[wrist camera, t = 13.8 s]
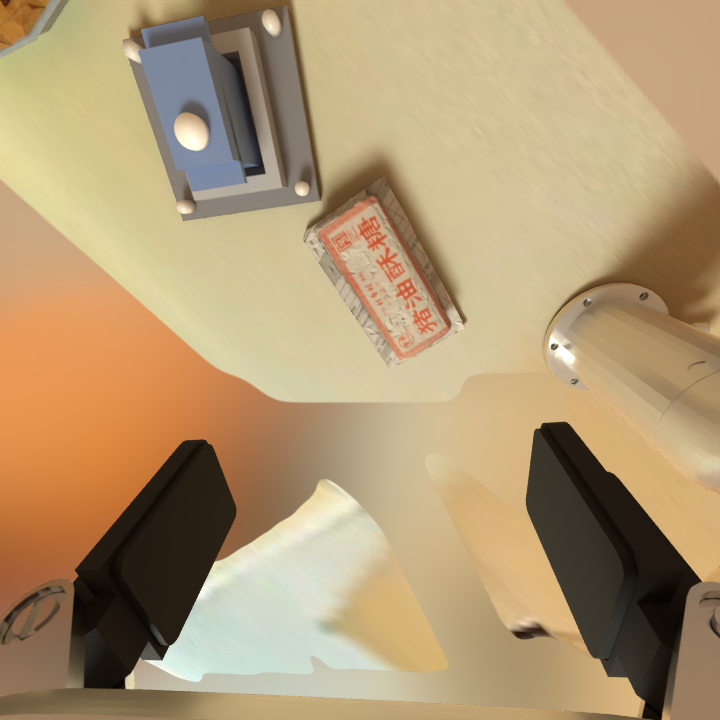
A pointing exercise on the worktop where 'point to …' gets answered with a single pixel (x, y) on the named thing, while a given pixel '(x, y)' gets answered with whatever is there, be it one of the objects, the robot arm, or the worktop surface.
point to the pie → (25, 21)
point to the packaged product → (384, 274)
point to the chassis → (269, 115)
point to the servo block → (200, 104)
